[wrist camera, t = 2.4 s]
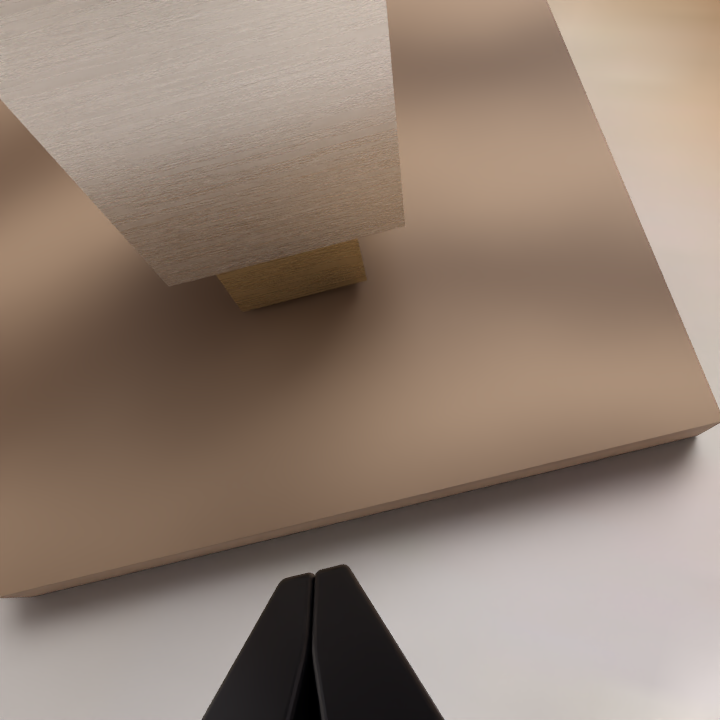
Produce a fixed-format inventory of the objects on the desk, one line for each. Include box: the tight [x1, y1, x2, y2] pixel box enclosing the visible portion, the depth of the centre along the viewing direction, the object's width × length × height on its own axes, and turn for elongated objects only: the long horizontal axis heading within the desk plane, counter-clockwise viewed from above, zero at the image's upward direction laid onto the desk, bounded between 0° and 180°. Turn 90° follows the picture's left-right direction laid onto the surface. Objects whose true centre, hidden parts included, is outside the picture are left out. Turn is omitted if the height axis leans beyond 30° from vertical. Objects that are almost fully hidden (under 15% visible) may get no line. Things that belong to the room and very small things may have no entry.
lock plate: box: [0, 0, 720, 598], centre depth 17 cm, size 22×16×5 cm
